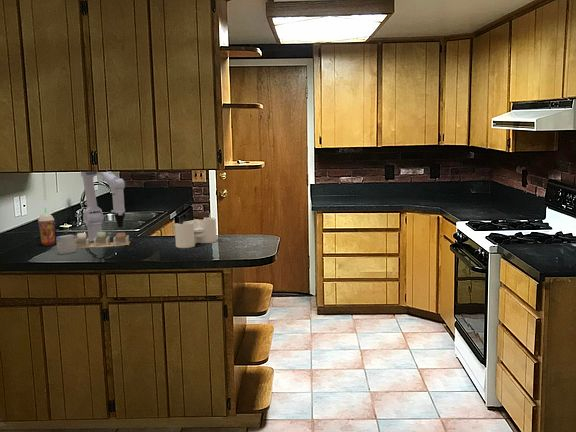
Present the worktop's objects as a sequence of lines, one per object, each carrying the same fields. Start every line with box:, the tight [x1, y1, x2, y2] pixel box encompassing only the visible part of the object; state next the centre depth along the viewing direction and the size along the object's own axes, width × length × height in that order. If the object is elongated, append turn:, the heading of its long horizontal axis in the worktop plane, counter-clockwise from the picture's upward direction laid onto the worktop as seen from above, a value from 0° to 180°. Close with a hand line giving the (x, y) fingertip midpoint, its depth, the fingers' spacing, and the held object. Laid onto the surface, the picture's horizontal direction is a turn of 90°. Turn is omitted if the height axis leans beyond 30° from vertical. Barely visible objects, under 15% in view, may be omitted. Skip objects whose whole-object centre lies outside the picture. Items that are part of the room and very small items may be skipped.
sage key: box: [97, 231, 107, 239], centre depth 325 cm, size 4×4×4 cm
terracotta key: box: [116, 232, 126, 238], centre depth 327 cm, size 4×4×4 cm
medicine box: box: [55, 234, 77, 256], centre depth 307 cm, size 8×4×9 cm, turn 141°
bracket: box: [174, 217, 218, 249], centre depth 319 cm, size 25×10×12 cm, turn 144°
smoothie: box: [37, 207, 56, 246], centre depth 333 cm, size 8×8×20 cm
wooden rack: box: [75, 234, 131, 250], centre depth 325 cm, size 12×28×4 cm, turn 100°
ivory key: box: [76, 232, 87, 240], centre depth 323 cm, size 4×4×4 cm
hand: (120, 227), depth 326 cm, fingers closed
